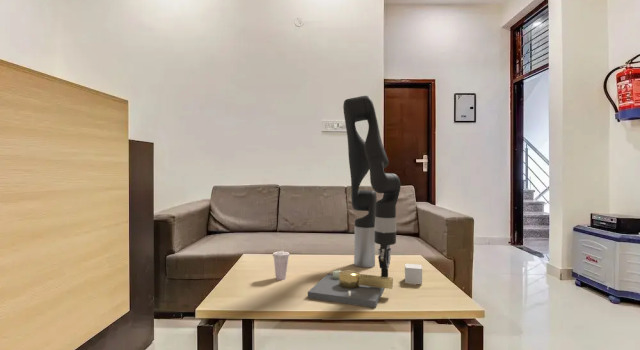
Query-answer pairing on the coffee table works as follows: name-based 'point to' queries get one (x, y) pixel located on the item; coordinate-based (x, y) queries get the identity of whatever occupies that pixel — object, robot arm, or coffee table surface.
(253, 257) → the coffee table surface
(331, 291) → the grey base plate
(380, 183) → the robot arm
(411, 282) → the beige cube
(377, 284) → the tan handled round piece
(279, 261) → the smoothie
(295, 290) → the coffee table surface
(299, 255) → the coffee table surface
